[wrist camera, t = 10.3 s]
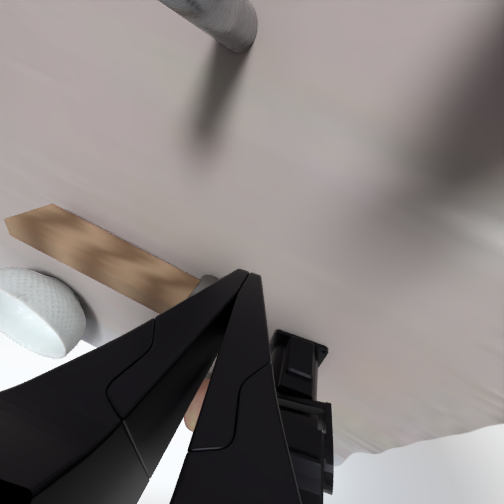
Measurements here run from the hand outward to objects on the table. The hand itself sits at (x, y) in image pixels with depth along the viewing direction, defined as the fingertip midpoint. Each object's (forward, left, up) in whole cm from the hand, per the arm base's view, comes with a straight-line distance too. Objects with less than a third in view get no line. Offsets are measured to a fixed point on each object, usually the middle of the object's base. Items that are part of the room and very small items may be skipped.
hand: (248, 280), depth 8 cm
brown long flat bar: (-11, +15, -12) cm, 22 cm away
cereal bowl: (-28, +34, -12) cm, 46 cm away
